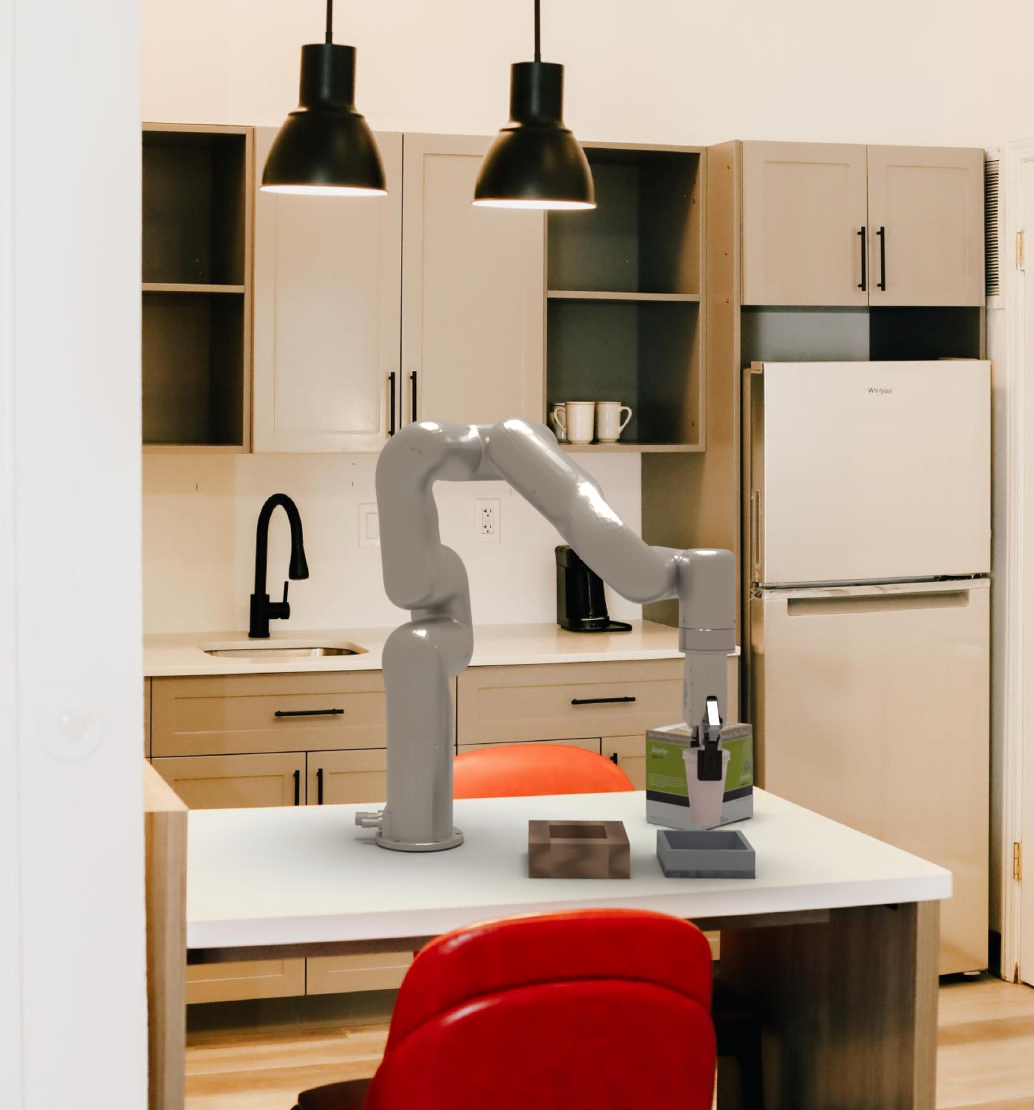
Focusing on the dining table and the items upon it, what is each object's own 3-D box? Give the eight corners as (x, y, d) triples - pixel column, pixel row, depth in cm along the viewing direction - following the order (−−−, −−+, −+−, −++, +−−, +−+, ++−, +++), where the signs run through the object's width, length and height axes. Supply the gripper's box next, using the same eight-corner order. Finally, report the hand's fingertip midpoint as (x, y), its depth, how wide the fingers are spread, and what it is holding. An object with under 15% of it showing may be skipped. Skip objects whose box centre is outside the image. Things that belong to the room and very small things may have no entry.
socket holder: (529, 877, 174) (529, 843, 174) (528, 852, 187) (528, 820, 187) (629, 878, 174) (630, 844, 174) (621, 853, 187) (622, 820, 187)
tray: (665, 877, 174) (665, 850, 174) (656, 854, 186) (656, 829, 186) (755, 878, 174) (755, 851, 174) (740, 855, 186) (740, 830, 186)
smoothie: (728, 829, 176) (729, 723, 176) (679, 827, 177) (680, 721, 177) (730, 819, 182) (731, 716, 182) (683, 816, 184) (684, 714, 183)
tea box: (702, 807, 216) (703, 716, 216) (754, 818, 209) (756, 723, 209) (643, 822, 205) (644, 726, 205) (696, 834, 198) (697, 734, 198)
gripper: (671, 635, 188) (670, 763, 188) (686, 647, 171) (685, 788, 171) (725, 635, 188) (723, 763, 188) (746, 647, 171) (744, 788, 171)
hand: (705, 774), depth 180 cm, fingers closed on smoothie, 6 cm apart
